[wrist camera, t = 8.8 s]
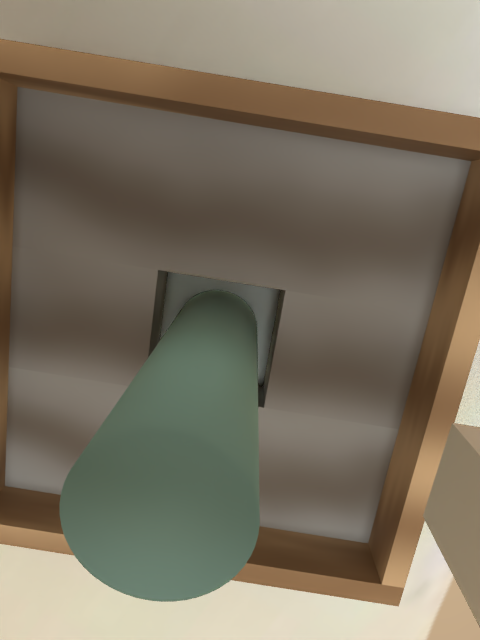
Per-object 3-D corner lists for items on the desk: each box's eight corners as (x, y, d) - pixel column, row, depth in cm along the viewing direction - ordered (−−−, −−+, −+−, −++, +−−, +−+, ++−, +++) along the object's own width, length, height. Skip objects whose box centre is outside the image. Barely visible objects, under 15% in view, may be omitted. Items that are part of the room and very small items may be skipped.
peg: (182, 284, 22) (66, 412, 9) (263, 297, 22) (276, 446, 9) (172, 361, 23) (53, 585, 10) (250, 373, 23) (242, 615, 10)
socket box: (24, 72, 20) (-50, 30, 15) (474, 146, 20) (543, 128, 15) (10, 471, 25) (-49, 536, 20) (371, 528, 25) (398, 606, 20)
